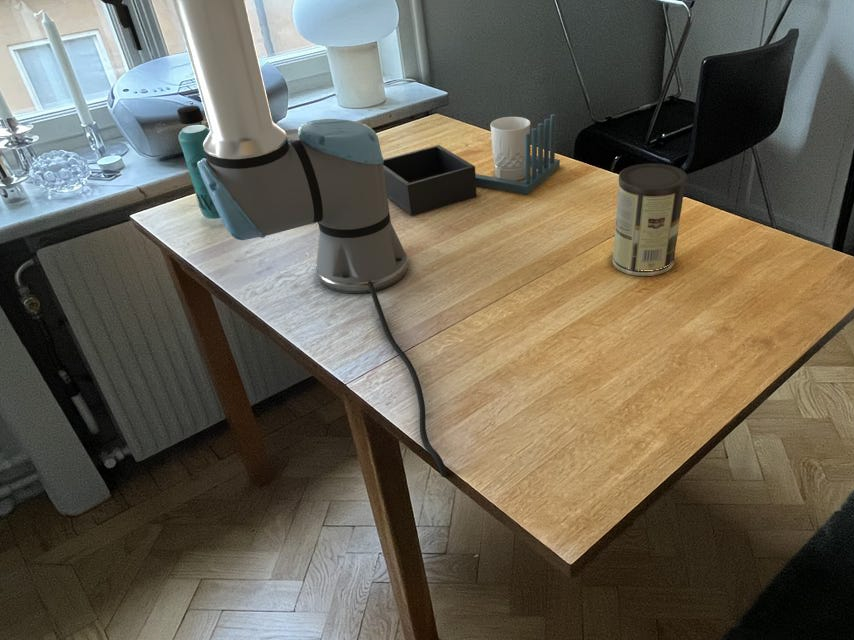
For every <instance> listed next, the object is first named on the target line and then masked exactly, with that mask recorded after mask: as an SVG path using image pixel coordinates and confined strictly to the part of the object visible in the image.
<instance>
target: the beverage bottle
mask: <svg viewBox="0 0 854 640" xmlns="http://www.w3.org/2000/svg"><path fill="white" fill-rule="evenodd" d="M176 112H177V116H178V121H179V123H180V124H182V125H187V126H186V127H184V128H182V129H181V131H180V132H179V134H178V136H177V137H178V138H177V139H178V141H179V144H180V147H181V151H182V153H183V156H184V159H185V164H186V167H187V171H188V173H189V178H190V181H191V186H192V188H193V189H194V191H193V192H194V194H195V197H196V202H197V204H198V208H199V211H200V213H201V214H202V216H203V217H204V218H205V219H210V220H216V219H221V217H220V215H219V213H218V211H217V209H216V207H215V205H214V203H213V201H212V199H211V197H210V195H209V192H208V190H207V188H206V186H205V184H204V181H203V179H202V177H201V174H200V171H199V168H198V166H197V164H198V162H199V161H201V160H202V159H203V158H205V159H207V157H206V154H205V150H204V147H203V143H204V141H205V139H206V137H207V136H208V134H209V132H210V128H209V126H206V125H204V124H199V123H201V122H203V121H204V119H205V118H204V116H203V113H202V110H201V108H200V106H198V105H196V104H195V105H193V104H192V105H184V106H181V107H179V108H177V111H176ZM197 123H198V124H197Z"/></svg>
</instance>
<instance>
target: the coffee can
mask: <svg viewBox="0 0 854 640" xmlns="http://www.w3.org/2000/svg"><path fill="white" fill-rule="evenodd" d="M687 181H688V175H687V173H686V172H685V171H684V170H683V169H681V168H679V167H677V166H674V165H670V164H664V163H651V162H650V163H649V162H648V163H639V164H634V165H630V166H628V167H626V168H623V169H622V170H621V171H620V172H619V174H618V189H617V190H618V191H617V201H616V202H617V203H616V216H615V229H614V237H613V238H614V240H613V252H612V258H611V263H612V265H613V267H614V268H616V269H617V270H618V271H620V272H622V273H624V274H626V275H631V276H635V277H636V276H637V277H653V276H659V275H661V274H664V273H667V272H669V271H670V270H671V269H672V268H673V267H674V265H675V254H676V248H677V242H678V235H679V227H680V221H681V214H682V207H683V200H684V195H685V194H684V193H685V188H686V184H687ZM615 261H616V262H615ZM672 261H673V262H672ZM671 262H672V263H671ZM670 263H671V264H670ZM669 264H670V265H669ZM667 265H669V266H667ZM665 266H667V267H665ZM664 267H665V268H664ZM628 268H629V269H628ZM660 268H662V269H660ZM656 269H659V270H656ZM638 270H639V271H638ZM641 270H643V271H641ZM644 270H653V271H644Z"/></svg>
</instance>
